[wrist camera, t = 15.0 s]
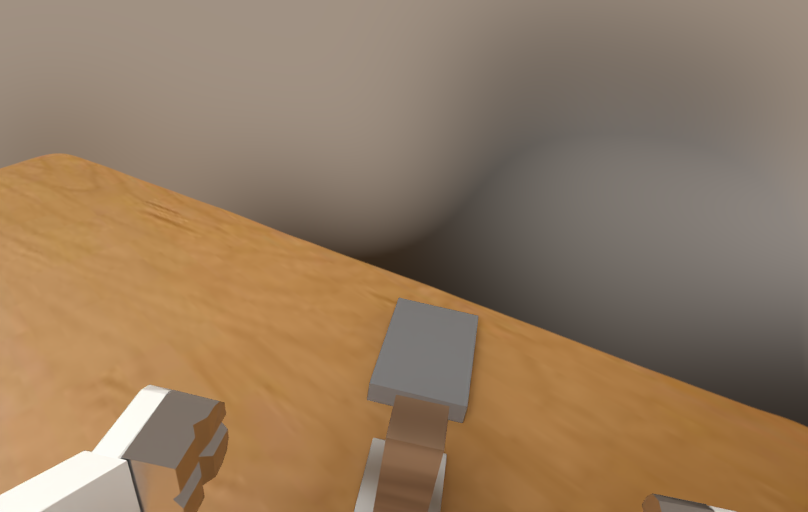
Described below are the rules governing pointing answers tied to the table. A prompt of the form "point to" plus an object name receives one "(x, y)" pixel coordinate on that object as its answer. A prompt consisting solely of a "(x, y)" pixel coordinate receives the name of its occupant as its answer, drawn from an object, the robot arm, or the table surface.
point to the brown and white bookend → (407, 460)
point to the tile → (426, 357)
